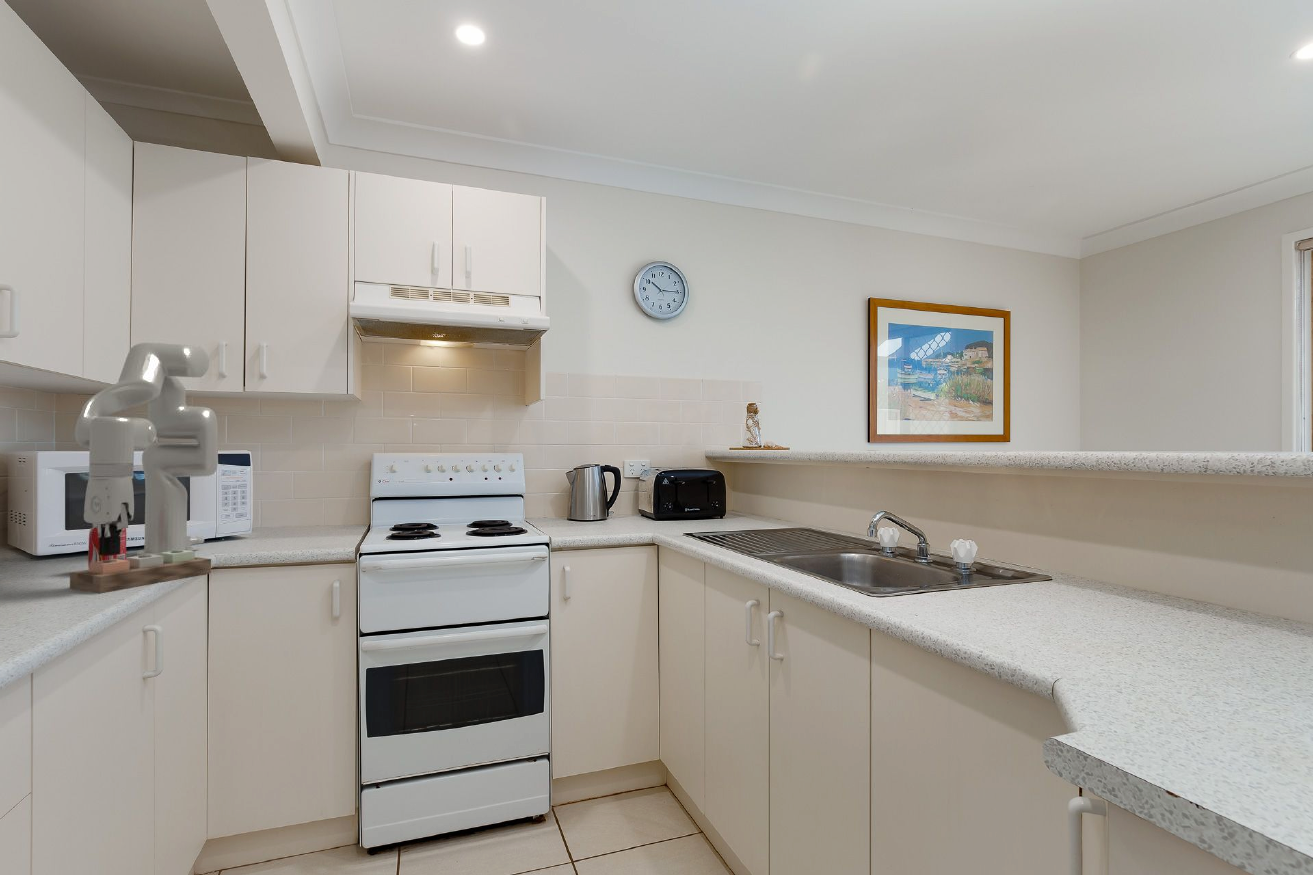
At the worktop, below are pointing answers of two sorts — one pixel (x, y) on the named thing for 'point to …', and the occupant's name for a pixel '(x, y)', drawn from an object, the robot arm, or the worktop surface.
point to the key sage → (178, 556)
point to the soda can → (94, 547)
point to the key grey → (145, 561)
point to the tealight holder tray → (138, 576)
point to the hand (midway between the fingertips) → (109, 554)
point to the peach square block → (109, 566)
